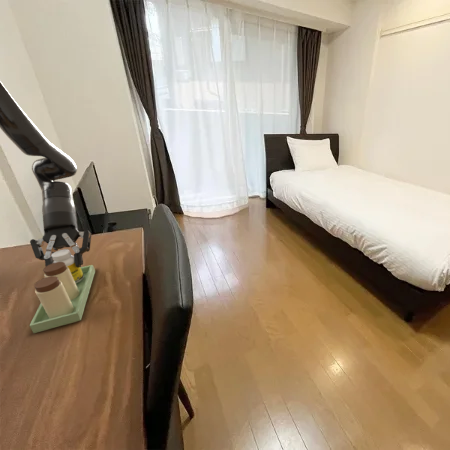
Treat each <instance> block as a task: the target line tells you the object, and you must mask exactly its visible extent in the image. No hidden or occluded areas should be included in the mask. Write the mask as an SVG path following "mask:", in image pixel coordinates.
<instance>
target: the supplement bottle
mask: <svg viewBox="0 0 450 450" xmlns="http://www.w3.org/2000/svg"><path fill="white" fill-rule="evenodd" d="M52 257H53V260H54V262H53V263H56V262H64V263H65V265H66V266H67V267H68V268H69V270H70V272H71V275H72V277H73V279H74V281H75V283H78V282H80V281H81V280H83V278H84V275H83V272H82V270H81V268H80V267H79V268H77V267H76V266H75V259H74V254H73V255H72V252H71V250H70V249H68V248H62V249H58V251H56V252H54V253H53V254H52Z"/></svg>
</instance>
